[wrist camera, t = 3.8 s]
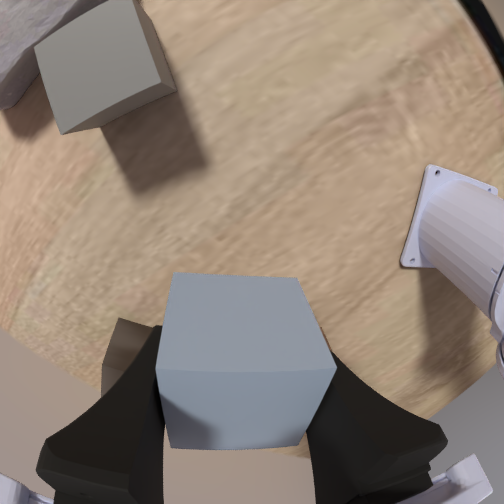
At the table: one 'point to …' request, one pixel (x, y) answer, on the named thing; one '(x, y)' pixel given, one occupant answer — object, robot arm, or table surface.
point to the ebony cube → (122, 350)
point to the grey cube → (103, 66)
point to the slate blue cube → (240, 362)
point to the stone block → (30, 39)
